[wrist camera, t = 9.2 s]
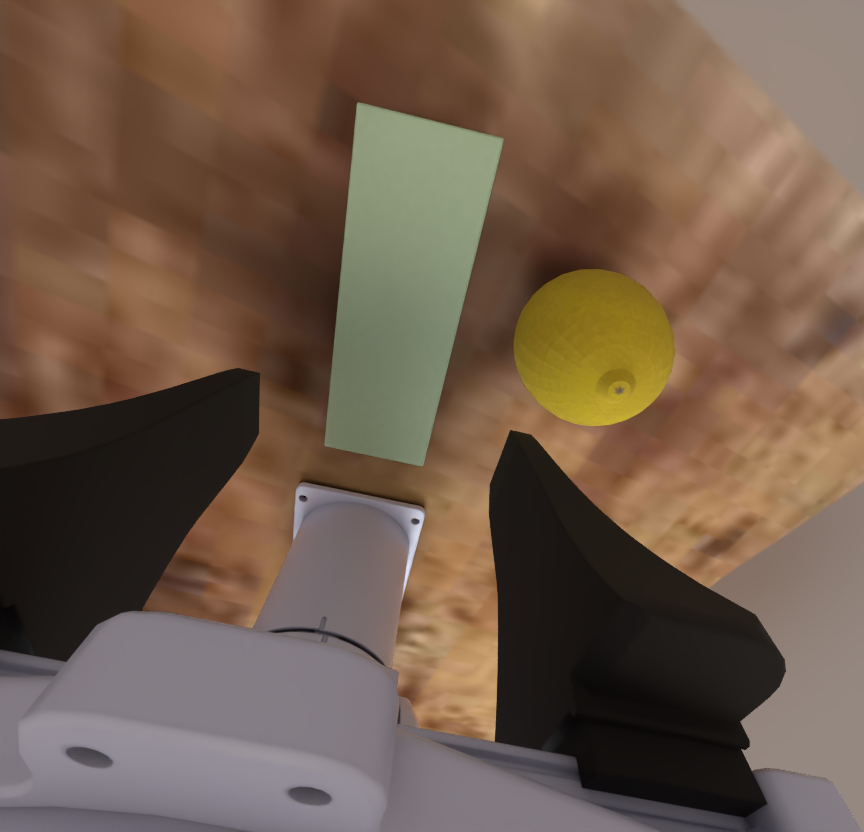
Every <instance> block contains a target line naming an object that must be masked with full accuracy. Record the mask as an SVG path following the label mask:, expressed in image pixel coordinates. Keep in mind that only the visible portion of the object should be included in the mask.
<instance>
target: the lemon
mask: <svg viewBox="0 0 864 832" xmlns="http://www.w3.org/2000/svg"><path fill="white" fill-rule="evenodd" d="M513 348H514V355H515V363H516V367H517V370H518V372H519V374H520V377H521V379H522V381H523V383H524V385H525V387H526V388H527V390H528V391H529V392H530V393H531V394H532V396H533V397H534V398H535V399H536V400H537V401H538V403H539V404H540V405H541V406H543V407H544V408H545V409H547V410H548V411H550V412H551V413H553V414H554V415H556V416H557V417H559V418H561V419H563V420H566V421H569V422H572V423H575V424H579V425H588V426H601V425H611V424H614V423H618V422H621V421H624V420H627V419H629V418H631V417H633V416H634V415H636V414H638V413H640V412H641V411H643V410H644V409H645V408H646V407H648V406H649V405H650V404H651V403H652V402H653V401H654V400H655V399H656V398H657V396H658V395H659V394H660V393H661V391H662V390H663V389H664V387H665V385H666V383H667V380H668V378H669V376H670V374H671V372H672V367H673V362H674V357H675V347H674V337H673V331H672V328H671V326H670V323H669V321H668V319H667V317H666V314H665V312H664V310H663V308H662V306H661V305H660V304H659V302H658V301H657V300H656V299H655V298H654V297H653V296H652V295H651V293H650V292H649V291H648V290H647V289H646V288H645V287H644V286H642V285H641V284H639V283H637V282H636V281H634V280H632V279H631V278H629V277H627V276H625V275H623V274H620V273H616V272H612V271H608V270H603V269H580V270H577V271H573V272H569V273H566V274H562V275H560V276H558V277H557V278H555V279H553V280H551V281H549V282H547V283H546V284H545V285H543V286H542V287H541V288H540V289H539V290H538V291H537V292H536V293H534V294H533V296H532V297H531V298H530V300H529V301H528V303H527V304H526V305H525V307H524V308H523V310H522V312H521V314H520V317H519V319H518V322H517V324H516V328H515V336H514V344H513Z"/></svg>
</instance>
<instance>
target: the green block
mask: <svg viewBox="0 0 864 832" xmlns="http://www.w3.org/2000/svg"><path fill="white" fill-rule="evenodd" d="M503 143H504V139H503V138H501V137H497V136H493V135H489V134H485V133H481V132H477V131H473V130H469V129H465V128H461V127H457V126H453V125H449V124H445V123H441V122H437V121H433V120H429V119H425V118H421V117H417V116H413V115H409V114H405V113H401V112H397V111H393V110H389V109H385V108H381V107H377V106H373V105H369V104H365V103H361V102H358V103H357V107H356V118H355V128H354V139H353V149H352V160H351V170H350V180H349V191H348V201H347V212H346V222H345V233H344V243H343V253H342V264H341V274H340V285H339V295H338V306H337V316H336V327H335V337H334V347H333V358H332V368H331V379H330V389H329V400H328V410H327V420H326V431H325V441H324V446H326V447H331V448H336V449H340V450H345V451H350V452H355V453H360V454H364V455H369V456H374V457H379V458H383V459H388V460H393V461H398V462H402V463H407V464H412V465H417V466H423V465H424V461H425V457H426V453H427V449H428V445H429V441H430V437H431V433H432V429H433V425H434V421H435V417H436V413H437V408H438V404H439V400H440V396H441V392H442V388H443V384H444V380H445V376H446V372H447V368H448V364H449V360H450V356H451V352H452V348H453V344H454V340H455V336H456V332H457V328H458V324H459V320H460V316H461V312H462V308H463V304H464V300H465V296H466V292H467V288H468V284H469V280H470V276H471V272H472V268H473V264H474V260H475V256H476V252H477V248H478V244H479V240H480V236H481V232H482V227H483V223H484V219H485V215H486V211H487V207H488V203H489V199H490V195H491V191H492V187H493V183H494V179H495V175H496V171H497V167H498V163H499V159H500V155H501V151H502V147H503Z"/></svg>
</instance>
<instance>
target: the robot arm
mask: <svg viewBox="0 0 864 832" xmlns="http://www.w3.org/2000/svg"><path fill="white" fill-rule="evenodd" d="M259 391H260V373H257V372H253V371H249V370H244V369H240V368H236V369H231V370H227V371H223V372H220V373H216V374H213V375H210V376H207V377H204V378H200V379H197V380H194V381H191V382H188V383H184V384H181V385H178V386H175V387H172V388H168V389H165V390H161V391H157V392H154V393H150V394H146V395H143V396H139V397H136V398H132V399H128V400H124V401H119V402H115V403H110V404H105V405H100V406H95V407H90V408H85V409H79V410H73V411H66V412H58V413H51V414H44V415H36V416H29V417H21V418H10V419H0V832H863V831H862V830H861V828H860V827H859V825H858V823H857V822H856V820H855V818H854V817H853V815H852V813H851V812H850V810H849V808H848V807H847V805H846V803H845V802H844V800H843V798H842V797H841V795H840V794H839V792H838V790H837V789H836V787H835V786H834V784H833V782H831V781H829V780H828V779H826V778H821V777H816V776H811V775H806V774H801V773H795V772H790V771H785V770H780V769H770V768H764V769H757V770H754V771H751V769H750V767H749V764H748V762H747V760H746V758H745V756H744V754H743V752H742V750H741V749H744V750H746V749H747V748H748V747H749V746H750V741H749V738H748V737H747V735H746V733H745V731H744V729H743V727H742V725H741V723H740V721H741V720H743V719H744V718H745V717H746V716H747V715H749V714H750V713H751V712H752V711H753V710H754V709H756V708H757V707H758V706H759V705H761V704H762V703H763V702H764V701H765V700H767V699H768V698H769V697H770V696H771V695H772V694H773V693H774V692H775V691H776V690H777V688H779V686H780V684H781V682H782V679H783V677H784V674H785V672H786V669H785V659H784V658H783V656H782V655H781V653H780V652H779V650H778V649H777V647H776V645H775V644H774V642H773V641H772V639H771V638H770V636H769V635H768V633H767V632H766V630H765V628H764V627H763V625H762V624H761V622H760V621H759V619H758V618H757V616H756V615H755V614H753V613H752V612H750V611H748V610H746V609H744V608H743V607H741V606H739V605H737V604H735V603H734V602H732V601H730V600H728V599H726V598H725V597H723V596H721V595H719V594H717V593H716V592H714V591H712V590H710V589H708V588H707V587H705V586H703V585H702V584H700V583H698V582H697V581H695V580H694V579H692V578H690V577H689V576H687V575H686V574H684V573H682V572H681V571H679V570H678V569H676V568H675V567H673V566H672V565H670V564H669V563H667V562H666V561H664V560H663V559H661V558H660V557H658V556H657V555H655V554H654V553H653V552H651V551H650V550H649V549H647V548H646V547H645V546H643V545H642V544H641V543H639V542H638V541H637V540H635V539H634V538H633V537H631V536H630V535H629V534H628V533H626V532H625V531H624V530H623V529H621V528H620V527H619V526H618V525H617V524H616V523H614V522H613V521H612V520H611V519H610V518H609V517H607V516H606V515H605V514H604V513H603V512H602V511H601V510H600V509H599V508H598V507H596V506H595V505H594V504H593V503H592V502H591V501H590V500H589V499H588V498H587V497H586V496H585V495H584V494H583V493H582V492H581V491H580V490H579V489H578V487H577V486H576V485H575V484H574V483H573V482H572V481H571V480H570V479H569V478H568V476H567V475H566V474H565V473H564V472H563V471H562V470H561V469H560V467H559V466H558V465H557V464H556V463H555V461H554V460H553V459H552V458H551V457H550V456H549V454H548V453H547V452H546V451H545V450H544V448H543V447H542V446H541V445H540V444H539V443H538V441H537V440H536V439H535V438H534V437H533V436H532V435H530V434H526V433H521V432H517V431H512V430H510V433H509V435H508V438H507V441H506V443H505V446H504V449H503V451H502V454H501V457H500V459H499V462H498V465H497V467H496V470H495V472H494V475H493V478H492V480H491V483H490V495H489V519H490V528H491V537H492V546H493V554H494V563H495V571H496V580H497V592H498V677H497V709H496V730H495V742H492V741H487V740H482V739H476V738H471V737H466V736H460V735H455V734H450V733H444V732H439V731H433V730H428V729H423V728H419V722H418V719H417V717H416V715H415V713H414V711H413V709H412V705H411V702H410V701H409V699H407V698H404V697H399V695H398V688H397V683H398V676H399V672H398V671H397V670H395V669H392V663H393V656H394V649H395V642H396V636H397V629H398V622H399V615H400V608H401V603H402V599H403V595H404V592H405V588H406V584H407V580H408V577H409V573H410V569H411V566H412V562H413V558H414V555H415V551H416V547H417V544H418V540H419V536H420V533H421V529H422V525H423V522H424V518H425V510H424V508H423V507H421V506H418V505H413V504H408V503H403V502H398V501H393V500H388V499H384V498H379V497H374V496H369V495H364V494H359V493H354V492H349V491H345V490H340V489H335V488H330V487H325V486H320V485H315V484H310V483H304V482H302V483H300V484H299V485H298V486H297V488H296V493H295V510H294V528H293V543H292V545H291V547H290V550H289V552H288V554H287V556H286V558H285V560H284V562H283V565H282V567H281V569H280V571H279V573H278V575H277V577H276V580H275V582H274V584H273V586H272V588H271V590H270V593H269V595H268V597H267V599H266V601H265V603H264V605H263V608H262V610H261V612H260V614H259V616H258V618H257V621H256V623H255V625H254V627H253V629H252V628H247V627H242V626H237V625H231V624H226V623H221V622H216V621H211V620H206V619H201V618H196V617H190V616H185V615H180V614H175V613H170V612H154V611H141V610H142V608H143V607H144V605H145V603H146V601H147V599H148V598H149V596H150V594H151V593H152V591H153V589H154V588H155V586H156V584H157V582H158V581H159V579H160V577H161V576H162V574H163V572H164V571H165V569H166V567H167V565H168V564H169V562H170V561H171V559H172V557H173V556H174V554H175V553H176V551H177V549H178V548H179V546H180V545H181V543H182V541H183V540H184V538H185V537H186V535H187V534H188V532H189V531H190V529H191V528H192V527H193V525H194V524H195V522H196V521H197V520H198V518H199V517H200V516H201V515H202V513H203V512H204V511H205V510H206V508H207V507H208V506H209V505H210V503H211V502H212V501H213V500H214V498H215V497H216V496H217V494H218V493H219V492H220V491H221V489H222V488H223V487H224V486H225V484H226V483H227V482H228V481H229V479H230V478H231V477H232V475H233V474H234V473H235V472H236V470H237V469H238V468H239V466H240V465H241V464H242V462H243V461H244V459H245V458H246V456H247V454H248V452H249V451H250V449H251V447H252V445H253V444H254V442H255V440H256V438H257V436H258V434H259ZM302 495H304V496H306V497H307V498H305V497H303V496H302ZM413 518H416V519H418V520H414V519H413Z"/></svg>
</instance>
